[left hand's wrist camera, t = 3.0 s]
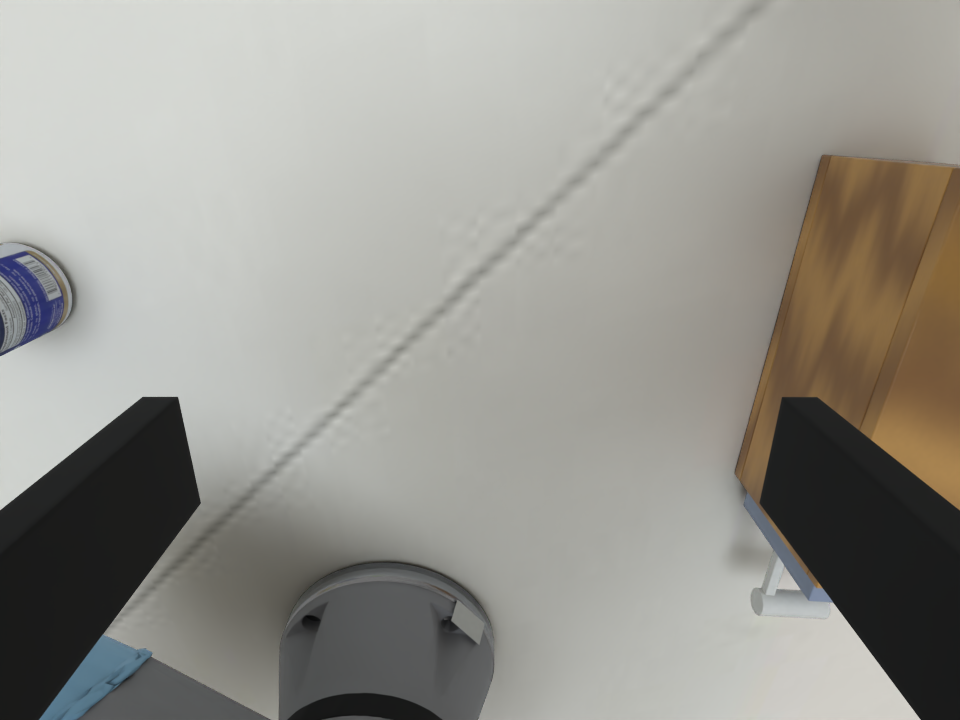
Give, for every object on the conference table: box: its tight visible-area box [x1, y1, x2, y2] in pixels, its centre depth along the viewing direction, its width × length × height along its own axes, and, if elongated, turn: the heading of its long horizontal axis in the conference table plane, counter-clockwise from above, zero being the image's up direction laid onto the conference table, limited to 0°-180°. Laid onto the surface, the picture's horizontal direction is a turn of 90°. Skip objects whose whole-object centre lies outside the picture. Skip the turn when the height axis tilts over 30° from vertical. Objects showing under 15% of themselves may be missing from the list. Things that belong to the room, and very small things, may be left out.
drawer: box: [744, 492, 833, 619], centre depth 31 cm, size 24×5×8 cm, turn 176°
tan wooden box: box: [735, 155, 960, 589], centre depth 29 cm, size 20×6×10 cm, turn 176°
